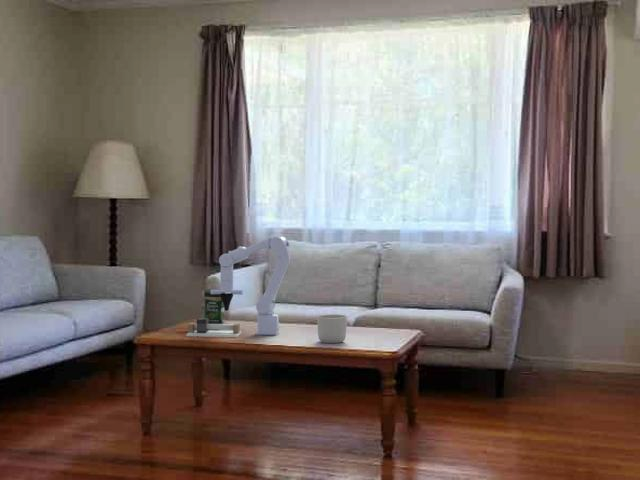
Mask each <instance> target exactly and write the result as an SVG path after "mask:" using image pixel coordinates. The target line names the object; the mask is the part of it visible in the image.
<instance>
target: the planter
mask: <svg viewBox="0 0 640 480" xmlns="http://www.w3.org/2000/svg"><path fill="white" fill-rule="evenodd" d="M316 317H317V319H316V322H317V335H318V340H319V341H320V343H325V344H339V343H340V342H341V343H343V342H344V341H346V337H347V336H346V335H347V323H348V322H347V321H348V320H347V319H348V317H347V315H345V314H336V313H335V314H334V313H333V314H331V313H330V314H328V313H327V314H319V315H317V316H316ZM341 343H340V344H341Z"/></svg>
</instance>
